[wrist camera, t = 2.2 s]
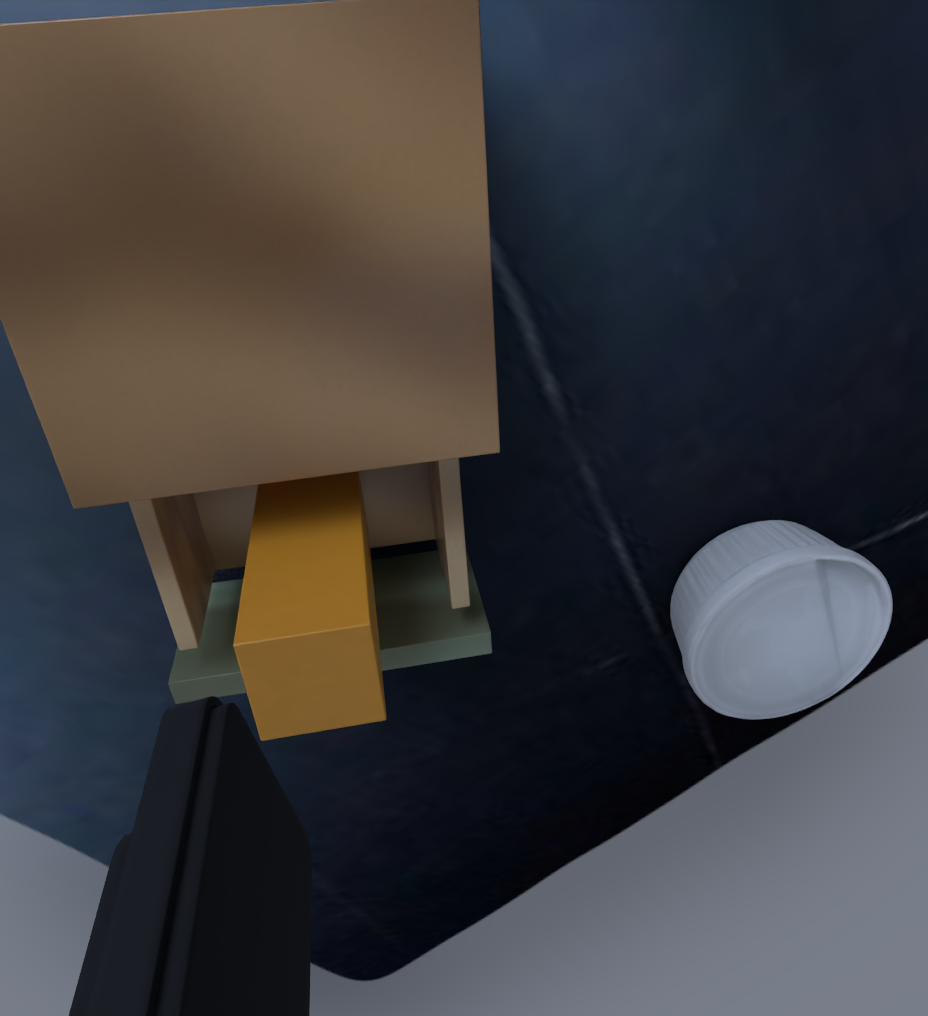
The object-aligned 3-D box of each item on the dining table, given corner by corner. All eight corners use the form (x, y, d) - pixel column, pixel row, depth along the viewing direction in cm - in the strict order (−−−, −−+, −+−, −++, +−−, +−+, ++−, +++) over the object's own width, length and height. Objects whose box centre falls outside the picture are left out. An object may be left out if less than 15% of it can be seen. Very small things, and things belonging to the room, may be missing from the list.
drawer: (468, 583, 40) (493, 674, 34) (204, 623, 38) (182, 724, 32) (448, 325, 33) (475, 383, 27) (123, 363, 31) (76, 432, 25)
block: (278, 545, 35) (260, 741, 25) (260, 466, 33) (232, 645, 23) (368, 533, 36) (387, 720, 26) (356, 453, 34) (371, 624, 23)
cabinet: (462, 369, 35) (500, 453, 27) (129, 409, 33) (73, 509, 26) (436, 10, 28) (479, -10, 20) (12, 40, 26) (-112, 31, 19)
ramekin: (874, 552, 44) (936, 607, 40) (743, 682, 48) (787, 745, 44) (747, 467, 40) (800, 518, 35) (614, 617, 44) (647, 681, 39)
